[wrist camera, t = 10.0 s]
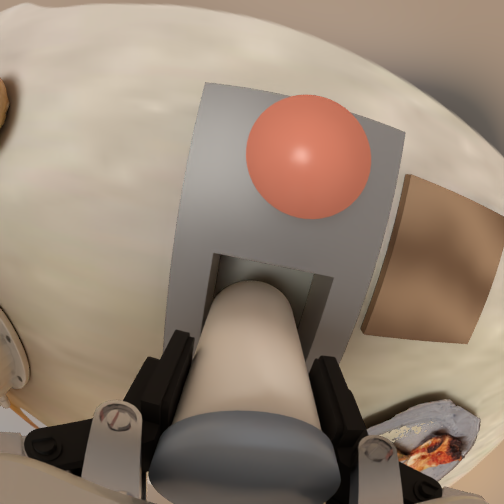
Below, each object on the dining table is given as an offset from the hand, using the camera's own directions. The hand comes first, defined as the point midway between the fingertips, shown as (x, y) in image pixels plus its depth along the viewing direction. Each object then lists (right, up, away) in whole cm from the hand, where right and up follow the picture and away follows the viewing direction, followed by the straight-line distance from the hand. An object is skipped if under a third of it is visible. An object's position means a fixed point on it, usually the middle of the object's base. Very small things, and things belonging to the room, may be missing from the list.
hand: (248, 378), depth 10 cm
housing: (+1, +5, +8) cm, 9 cm away
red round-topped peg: (+2, +10, +6) cm, 11 cm away
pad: (+14, +3, +8) cm, 17 cm away
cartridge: (0, +1, +5) cm, 5 cm away
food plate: (+16, -21, +14) cm, 30 cm away
